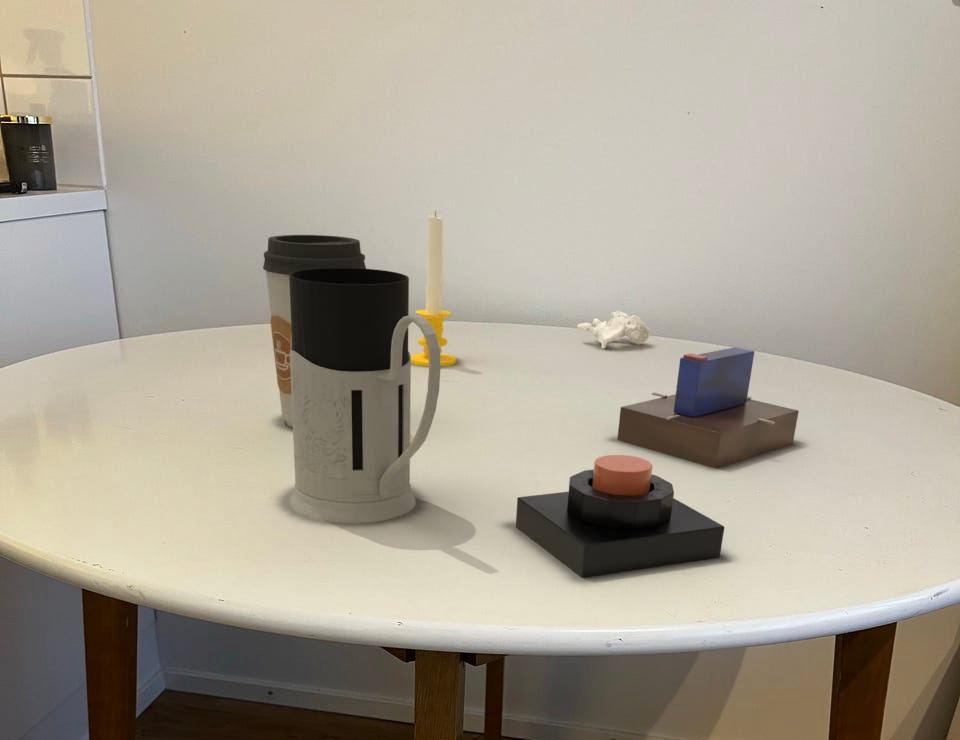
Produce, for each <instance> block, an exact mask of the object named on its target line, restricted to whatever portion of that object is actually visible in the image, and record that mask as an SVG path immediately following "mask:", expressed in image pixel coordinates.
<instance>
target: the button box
mask: <svg viewBox="0 0 960 740" xmlns="http://www.w3.org/2000/svg"><path fill="white" fill-rule="evenodd" d="M593 473H594V469H585V470H582V471H580V472H578V473H575V474H573V475H571V476H569V481H568V491H562V492H561V491H560V492H552V493H543V494H536V495H535V494H534V495H525V496H519V497H517V498H516V501H517V502H516V516H515V528H516V529H517V530H519V531H520V532H521V533H522V534H524V535H525V536H526V537H528V538H529V539H530V540H531V541H533V542H534V543H535V544H537V545H538V546H539V547H540V548H541V549H543V550H544V551H546V552H547V553H549V555H551V556H552V557H554V559H556V560H557V561H559V562H560V563H562V564H563V565H564V566H566V568H568V569H569V570H571V571H572V572H573V573H574V574H575V575H577V576H578V577H579V578H581V579H586V578H593V577H599V576H606V575H614V574H620V573H626V572H632V571H633V572H634V571H638V570H639V571H640V570H647V569H652V568H653V569H654V568H659V567H666V566H673V565H679V564H686V563H691V562H693V563H694V562H699V561H707V560H711V559H720V557H721V552H722V545H723V539H724V533H725V526H724V525H723V524H721V523H719V522H717V521H715V520H714V519H712V518H710V517H708V516H707V515H705V514H703V513H701V512H699V511H698V510H696V509H694V508H692V507H691V506H688V505H687V504H685V503H683V502H681V501H680V500H679V499H676V498H675V497H674V496H675V490H674V486H673V483H671V482H669V481H668V480H666V479H664V478H662V477H660V476H658V475H656V474H651V483H650V491H649V493H647V494H643V495H634V496H630V495H616V494H609V493H605V492H601V491H597V490H596V489H594V488H593V487H592V483H593Z"/></svg>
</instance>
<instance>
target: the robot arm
mask: <svg viewBox="0 0 960 740" xmlns="http://www.w3.org/2000/svg"><path fill="white" fill-rule="evenodd" d="M951 2H952V5H954V6H957V7H959V8H960V0H951Z"/></svg>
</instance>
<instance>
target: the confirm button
mask: <svg viewBox="0 0 960 740" xmlns="http://www.w3.org/2000/svg"><path fill="white" fill-rule="evenodd" d="M593 470H594V473H593V483H592V487H593V488H594V489H596V490H597V491H601V492H605V493H609V494H616V495H630V496H634V495H643V494H647V493H649V491H650V483H651V474H652V473H653V464H652V463H651V462H650V461H649V460H647V459H644V458H641V457H638V456H634V455H626V454H609V455H607V454H606V455H602V456H599V457H597V458H596V459H595V460H594V464H593ZM652 475H653V474H652Z"/></svg>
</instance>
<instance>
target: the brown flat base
mask: <svg viewBox="0 0 960 740" xmlns="http://www.w3.org/2000/svg"><path fill="white" fill-rule="evenodd" d="M651 395H652V396H656V397H657V398H654V399H648V400H645V401H641V402H637V403H632V404H627V405H623V406H620V409H619V410H620V411H619V419H618V430H617V441H618V442H622V443H625V444H629V445H631V446H632V445H633V446H635V447H639V448H643V449H646V450H649V451H653V452H657V453H660V454H663V455H667V456H671V457H672V458H673V457H674V458H677V459H681V460H684V461H688V462H691V463H695V464H697V465H701V466H705V467H708V468H712V469H719V468H721V467H724V466H725V467H726V466H728V465H730V464H733V463H738V462H740V461H742V460H747V459H748V458H752V457H756V456H758V455H761V454H765V453H767V452H770V451H774V450H777V449H780V448H783V447H786V446H789V445H792V444H794V440H795V433H796V429H797V424H798V418H799V410H798V409H794V408H789V407H785V406H781V405H777V404H772V403H769V402H763V401H760V400H755V399H752V396H747V402H746V404H742V405H738V406H735V407H731V408H727V409H723V410H719V411H715V412H711V413H708V414H704V415H700V416H696V417H689V416H686V415H682V414H678V413H674V404H675V396H676V393H675V394H671V395H667V394H663V393H660V392H659V393H658V392H655V391H654V392H652V393H651Z"/></svg>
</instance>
